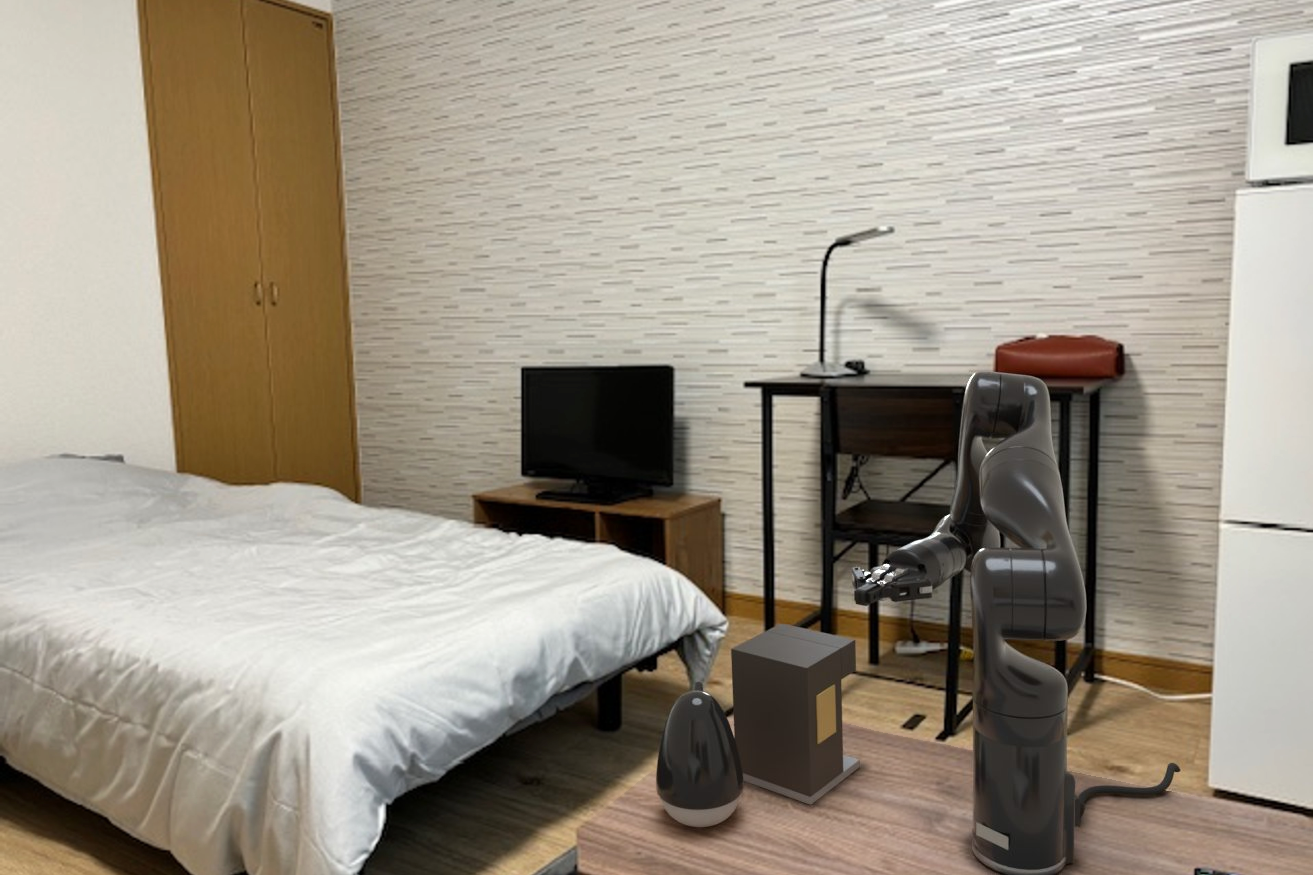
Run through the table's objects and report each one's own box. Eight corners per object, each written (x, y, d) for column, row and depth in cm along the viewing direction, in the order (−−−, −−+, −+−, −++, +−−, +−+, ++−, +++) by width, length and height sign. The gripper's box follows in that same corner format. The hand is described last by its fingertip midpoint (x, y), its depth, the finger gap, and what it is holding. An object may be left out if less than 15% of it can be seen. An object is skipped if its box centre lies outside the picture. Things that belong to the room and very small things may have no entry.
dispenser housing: (787, 743, 132) (783, 621, 130) (861, 767, 125) (858, 638, 123) (735, 777, 124) (730, 648, 121) (812, 805, 117) (808, 668, 114)
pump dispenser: (745, 792, 120) (740, 673, 118) (744, 839, 110) (739, 710, 108) (661, 791, 121) (656, 674, 119) (653, 838, 111) (646, 711, 109)
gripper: (877, 537, 151) (817, 564, 138) (961, 549, 142) (904, 578, 129) (878, 585, 152) (818, 616, 139) (961, 599, 143) (905, 634, 130)
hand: (860, 598), depth 134 cm, fingers closed
